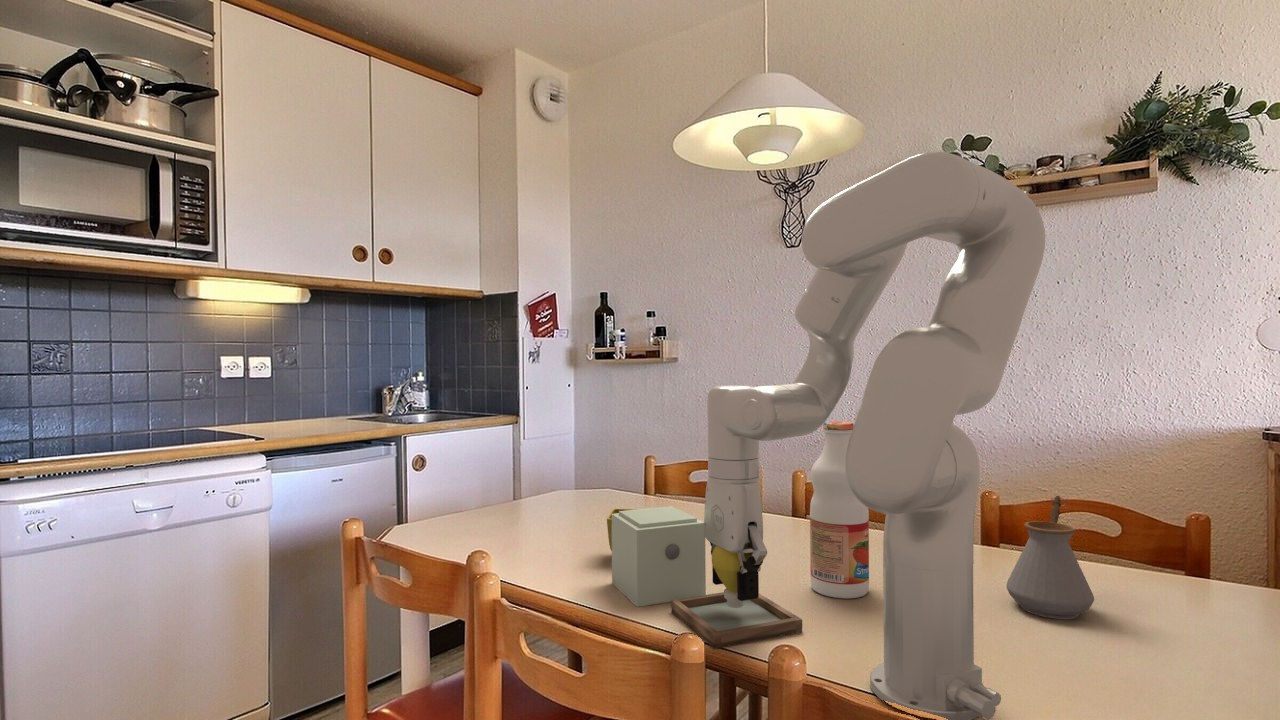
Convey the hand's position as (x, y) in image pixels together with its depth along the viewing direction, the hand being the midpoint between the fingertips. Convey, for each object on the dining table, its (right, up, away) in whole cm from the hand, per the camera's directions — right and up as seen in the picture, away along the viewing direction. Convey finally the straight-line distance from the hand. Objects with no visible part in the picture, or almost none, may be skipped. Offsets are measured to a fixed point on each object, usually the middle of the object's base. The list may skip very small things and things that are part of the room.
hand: (734, 589), depth 98 cm
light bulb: (0, -2, 0) cm, 2 cm away
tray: (0, -5, 0) cm, 5 cm away
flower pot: (-16, -5, +31) cm, 35 cm away
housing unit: (-11, -5, +14) cm, 19 cm away
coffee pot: (+52, -5, +8) cm, 53 cm away
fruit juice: (+19, -5, +13) cm, 24 cm away
